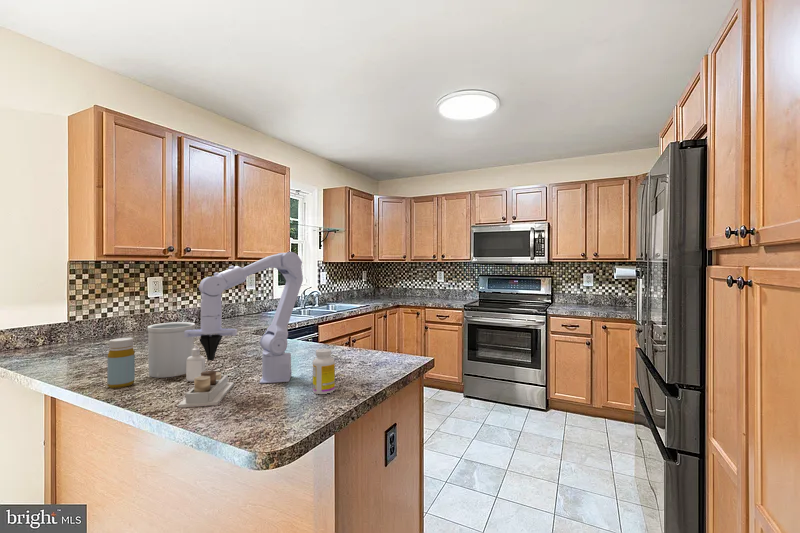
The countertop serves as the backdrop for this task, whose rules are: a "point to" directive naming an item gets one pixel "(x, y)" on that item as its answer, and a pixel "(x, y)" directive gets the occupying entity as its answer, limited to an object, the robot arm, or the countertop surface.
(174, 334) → the utensil holder
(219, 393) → the white compartment tray
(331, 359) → the supplement bottle
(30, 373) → the countertop surface
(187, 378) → the eye dropper bottle
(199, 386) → the maple plug
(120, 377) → the bottle
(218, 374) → the maple plug
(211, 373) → the walnut plug
